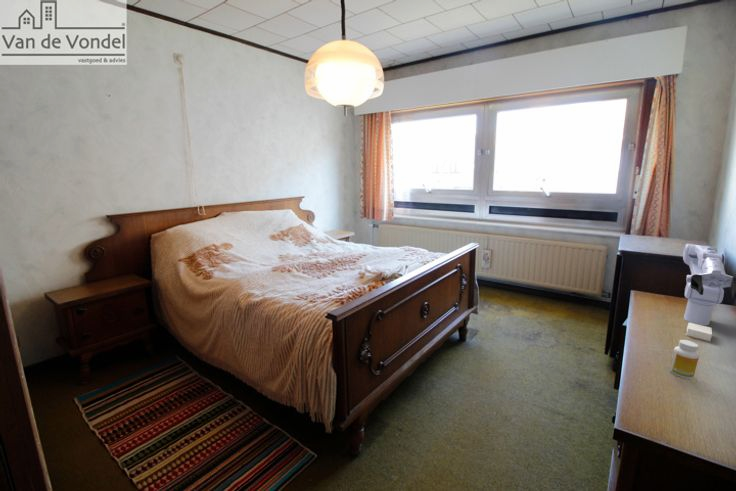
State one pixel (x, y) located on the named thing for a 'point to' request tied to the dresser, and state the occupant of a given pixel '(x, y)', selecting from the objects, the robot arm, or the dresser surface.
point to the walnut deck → (694, 337)
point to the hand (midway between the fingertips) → (718, 294)
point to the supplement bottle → (684, 359)
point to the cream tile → (699, 331)
